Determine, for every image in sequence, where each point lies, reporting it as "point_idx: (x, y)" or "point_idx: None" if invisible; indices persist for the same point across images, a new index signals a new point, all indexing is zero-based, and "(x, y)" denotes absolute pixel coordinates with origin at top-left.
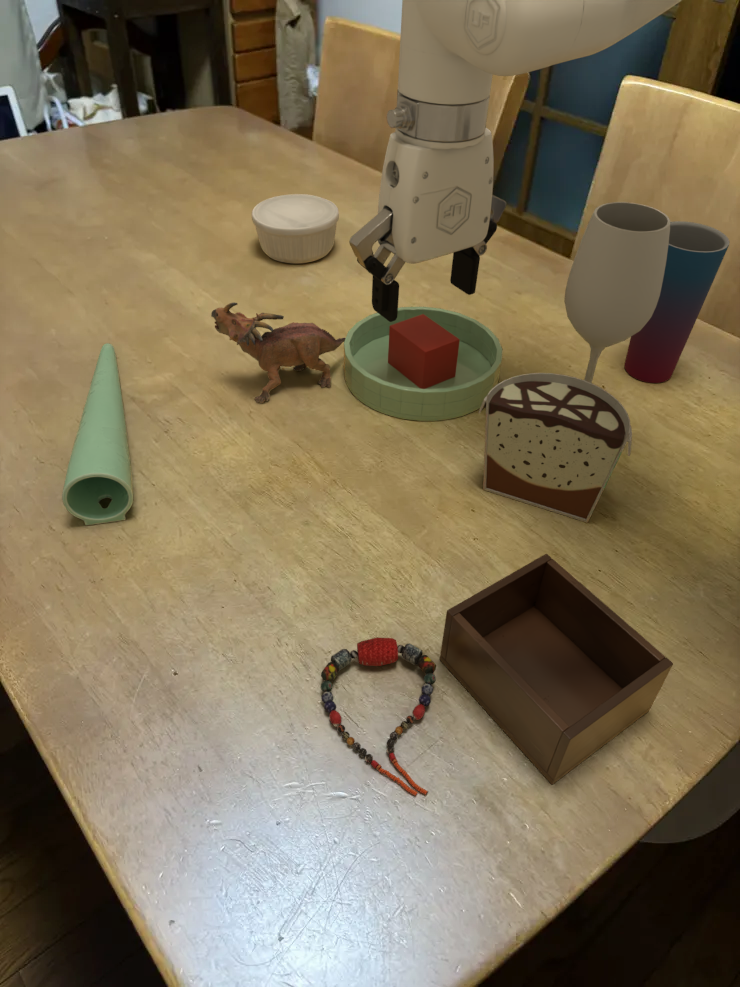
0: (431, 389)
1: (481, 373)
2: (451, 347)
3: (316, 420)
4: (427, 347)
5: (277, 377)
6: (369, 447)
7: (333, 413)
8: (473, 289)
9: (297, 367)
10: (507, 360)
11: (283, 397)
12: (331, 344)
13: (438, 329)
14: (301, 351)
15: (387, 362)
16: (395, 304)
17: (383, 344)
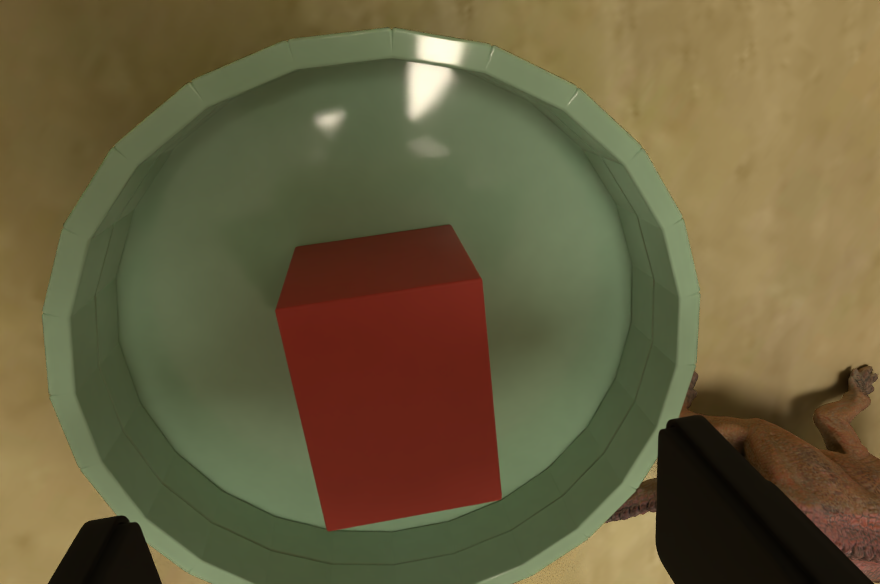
0: (538, 89)
1: (184, 224)
2: (326, 290)
3: (799, 238)
4: (453, 307)
5: (835, 426)
6: (759, 35)
7: (740, 249)
8: (92, 537)
9: None
10: (24, 279)
11: (803, 371)
12: None
13: (327, 413)
14: (837, 466)
15: None
16: (740, 478)
17: None
